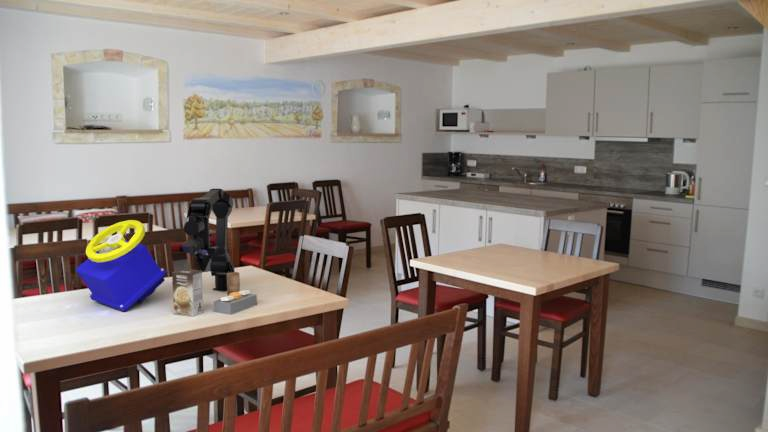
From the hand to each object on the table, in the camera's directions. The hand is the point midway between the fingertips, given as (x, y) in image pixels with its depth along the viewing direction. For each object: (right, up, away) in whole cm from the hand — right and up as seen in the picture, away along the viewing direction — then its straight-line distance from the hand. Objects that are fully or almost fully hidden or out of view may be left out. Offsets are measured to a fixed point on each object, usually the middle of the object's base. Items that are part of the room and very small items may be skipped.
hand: (203, 271), depth 246 cm
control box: (-30, -13, -1) cm, 32 cm away
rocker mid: (+14, -9, -5) cm, 17 cm away
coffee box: (-2, -15, -11) cm, 19 cm away
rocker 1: (+12, -9, -9) cm, 17 cm away
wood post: (+9, -12, +11) cm, 18 cm away
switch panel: (+14, -14, -4) cm, 20 cm away
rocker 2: (+16, -8, -1) cm, 18 cm away
